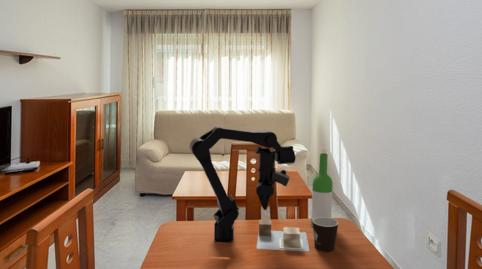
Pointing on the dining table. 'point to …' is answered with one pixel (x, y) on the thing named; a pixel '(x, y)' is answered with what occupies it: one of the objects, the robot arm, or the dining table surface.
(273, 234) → the build board
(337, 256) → the dining table surface
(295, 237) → the beech block
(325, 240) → the coffee mug
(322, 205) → the wine bottle
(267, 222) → the walnut cube
